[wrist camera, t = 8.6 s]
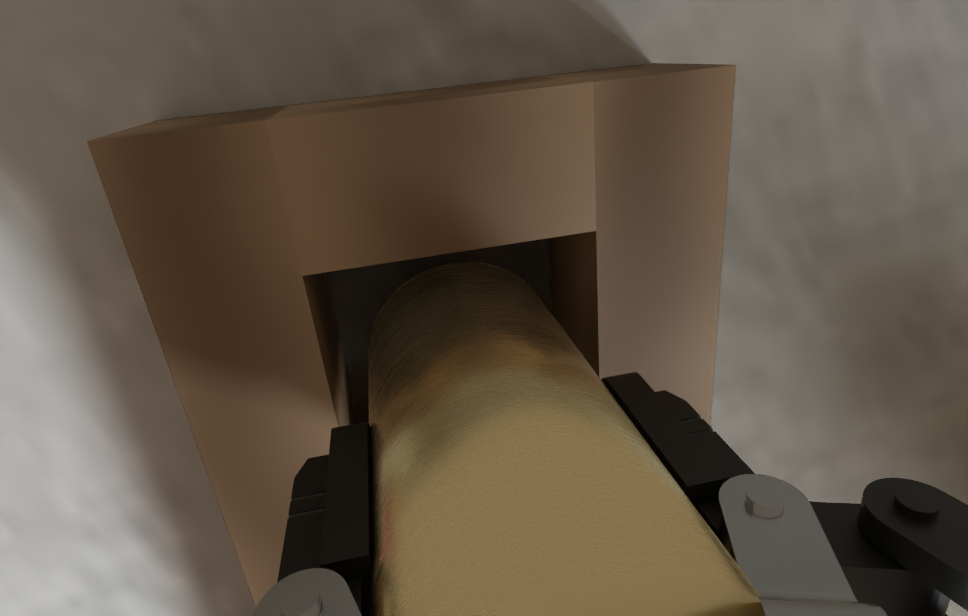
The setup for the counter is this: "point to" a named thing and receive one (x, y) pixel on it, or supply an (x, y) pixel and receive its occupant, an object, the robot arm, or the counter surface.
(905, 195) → the counter surface
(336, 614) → the robot arm
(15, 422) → the counter surface
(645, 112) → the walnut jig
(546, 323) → the yellow cylinder
